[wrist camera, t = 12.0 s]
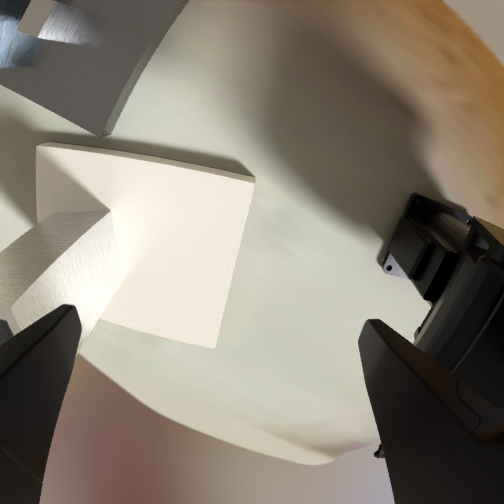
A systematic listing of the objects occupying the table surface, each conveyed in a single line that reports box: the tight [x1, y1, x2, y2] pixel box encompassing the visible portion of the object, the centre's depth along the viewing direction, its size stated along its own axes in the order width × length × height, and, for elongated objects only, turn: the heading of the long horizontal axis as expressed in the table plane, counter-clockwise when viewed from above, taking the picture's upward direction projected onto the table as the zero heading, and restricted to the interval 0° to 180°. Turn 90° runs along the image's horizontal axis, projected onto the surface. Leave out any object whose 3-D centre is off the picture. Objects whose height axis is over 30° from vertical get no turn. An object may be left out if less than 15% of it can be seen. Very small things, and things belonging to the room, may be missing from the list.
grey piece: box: [0, 0, 189, 138], centre depth 12 cm, size 14×12×6 cm
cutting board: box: [36, 142, 256, 349], centre depth 21 cm, size 16×14×2 cm
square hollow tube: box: [0, 211, 124, 356], centre depth 16 cm, size 5×5×11 cm
